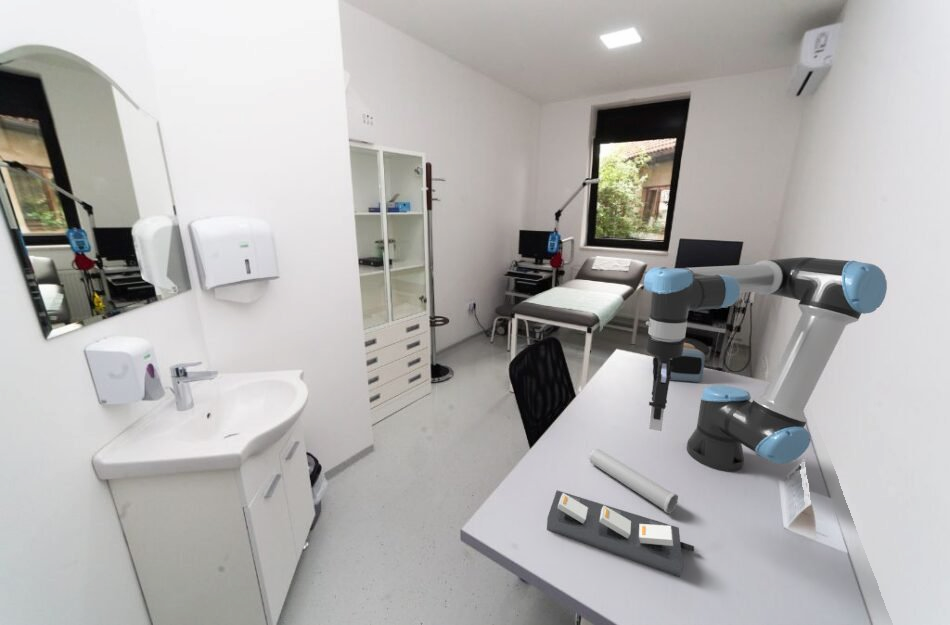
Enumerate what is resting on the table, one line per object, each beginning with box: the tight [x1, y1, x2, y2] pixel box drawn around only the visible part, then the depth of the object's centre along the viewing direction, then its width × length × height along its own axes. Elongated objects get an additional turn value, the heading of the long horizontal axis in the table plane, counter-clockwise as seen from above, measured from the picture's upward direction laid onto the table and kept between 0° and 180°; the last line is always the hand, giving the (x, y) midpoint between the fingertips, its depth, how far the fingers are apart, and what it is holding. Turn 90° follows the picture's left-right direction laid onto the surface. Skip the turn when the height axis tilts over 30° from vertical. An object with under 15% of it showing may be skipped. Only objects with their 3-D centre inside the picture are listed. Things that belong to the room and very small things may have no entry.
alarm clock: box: [670, 342, 706, 383], centre depth 173 cm, size 16×16×16 cm
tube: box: [588, 448, 679, 515], centre depth 102 cm, size 5×5×25 cm
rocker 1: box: [558, 492, 588, 523], centre depth 86 cm, size 6×4×2 cm, turn 65°
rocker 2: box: [599, 506, 631, 539], centre depth 83 cm, size 6×4×2 cm, turn 65°
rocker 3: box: [639, 524, 673, 546], centre depth 79 cm, size 6×4×2 cm, turn 65°
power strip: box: [546, 490, 695, 578], centre depth 84 cm, size 31×10×4 cm, turn 65°
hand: (655, 428), depth 89 cm, fingers closed
